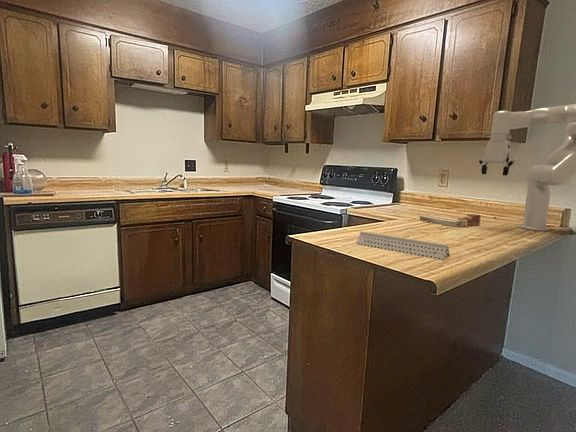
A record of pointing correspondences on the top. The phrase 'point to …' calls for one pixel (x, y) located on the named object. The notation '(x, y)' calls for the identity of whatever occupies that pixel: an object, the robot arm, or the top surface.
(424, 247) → the corner bead
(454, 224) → the board
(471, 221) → the gauge
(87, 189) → the top surface
